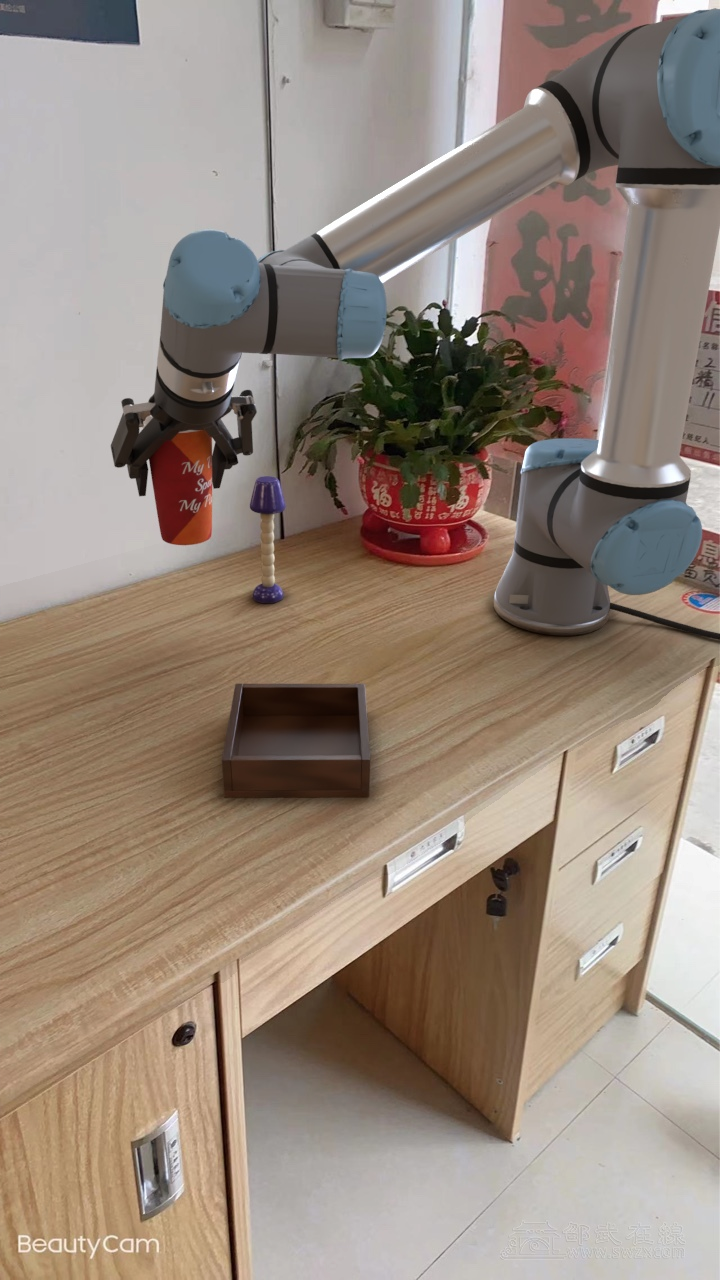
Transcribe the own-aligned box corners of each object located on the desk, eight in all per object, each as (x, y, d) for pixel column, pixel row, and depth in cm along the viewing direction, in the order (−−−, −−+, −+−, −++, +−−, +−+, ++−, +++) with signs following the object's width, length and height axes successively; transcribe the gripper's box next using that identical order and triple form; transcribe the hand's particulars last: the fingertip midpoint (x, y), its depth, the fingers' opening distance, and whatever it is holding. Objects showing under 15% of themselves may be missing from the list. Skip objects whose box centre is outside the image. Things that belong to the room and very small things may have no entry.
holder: (363, 717, 95) (364, 683, 93) (369, 797, 83) (370, 759, 81) (237, 717, 94) (235, 683, 92) (224, 797, 83) (221, 760, 80)
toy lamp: (257, 587, 123) (253, 472, 116) (290, 590, 123) (288, 474, 115) (249, 602, 119) (244, 483, 111) (283, 605, 119) (280, 486, 111)
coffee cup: (206, 552, 102) (198, 422, 94) (140, 545, 103) (126, 416, 96) (231, 527, 109) (224, 404, 102) (168, 520, 110) (158, 399, 103)
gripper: (90, 413, 81) (93, 520, 102) (308, 398, 88) (269, 500, 108) (77, 343, 83) (82, 462, 103) (291, 333, 90) (255, 447, 110)
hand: (177, 482), depth 106 cm, fingers closed on coffee cup, 8 cm apart
